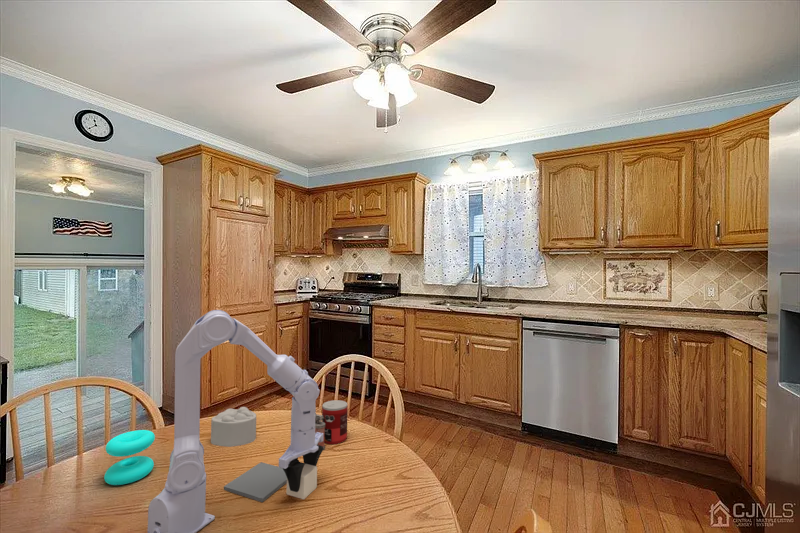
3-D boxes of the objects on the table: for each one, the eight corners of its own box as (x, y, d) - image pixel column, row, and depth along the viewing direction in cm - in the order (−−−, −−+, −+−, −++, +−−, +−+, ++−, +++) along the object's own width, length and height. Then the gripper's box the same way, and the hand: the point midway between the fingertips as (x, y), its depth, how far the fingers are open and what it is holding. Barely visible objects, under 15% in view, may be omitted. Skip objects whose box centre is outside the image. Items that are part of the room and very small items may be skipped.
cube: (303, 499, 79) (304, 477, 79) (286, 494, 81) (286, 472, 81) (316, 487, 84) (317, 466, 84) (300, 482, 85) (300, 462, 86)
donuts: (97, 448, 82) (117, 430, 91) (95, 491, 81) (115, 468, 91) (146, 442, 85) (160, 426, 94) (144, 483, 84) (159, 463, 94)
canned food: (319, 436, 111) (320, 402, 111) (343, 431, 114) (343, 398, 115) (324, 446, 104) (325, 410, 104) (349, 441, 107) (350, 406, 108)
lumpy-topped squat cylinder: (229, 429, 115) (230, 403, 115) (263, 433, 112) (264, 407, 113) (205, 444, 105) (206, 415, 105) (242, 449, 102) (243, 419, 103)
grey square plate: (262, 502, 78) (262, 498, 78) (223, 489, 82) (223, 486, 82) (296, 474, 89) (296, 471, 89) (260, 465, 93) (261, 462, 93)
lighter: (299, 446, 104) (300, 413, 104) (307, 441, 107) (307, 409, 107) (319, 452, 100) (320, 418, 101) (327, 447, 103) (327, 414, 104)
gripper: (297, 442, 75) (295, 506, 74) (333, 418, 88) (332, 471, 87) (271, 436, 77) (270, 498, 77) (311, 413, 91) (310, 466, 90)
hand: (301, 483), depth 82 cm, fingers closed on cube, 5 cm apart
